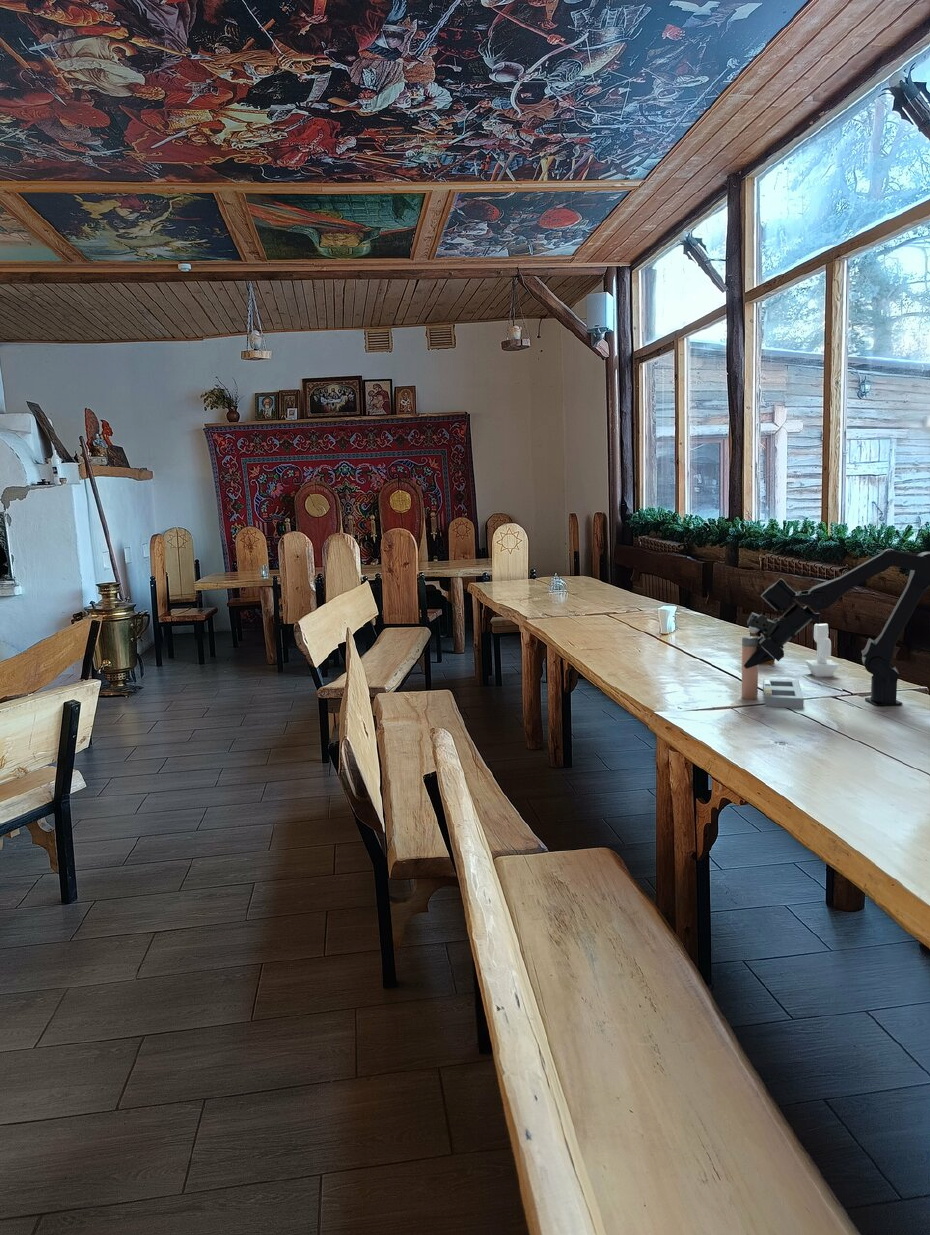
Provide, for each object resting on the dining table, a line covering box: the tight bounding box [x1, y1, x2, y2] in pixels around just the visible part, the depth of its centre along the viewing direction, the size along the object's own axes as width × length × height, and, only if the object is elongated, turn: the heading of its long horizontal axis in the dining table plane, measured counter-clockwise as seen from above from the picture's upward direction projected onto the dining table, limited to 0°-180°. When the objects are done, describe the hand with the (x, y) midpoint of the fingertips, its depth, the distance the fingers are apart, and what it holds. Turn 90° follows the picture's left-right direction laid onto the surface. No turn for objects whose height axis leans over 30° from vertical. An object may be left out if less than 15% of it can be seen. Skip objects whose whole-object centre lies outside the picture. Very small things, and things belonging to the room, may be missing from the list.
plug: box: [741, 635, 759, 700], centre depth 210 cm, size 4×4×16 cm
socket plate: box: [762, 678, 805, 709], centre depth 209 cm, size 20×9×3 cm, turn 161°
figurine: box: [804, 623, 840, 678], centre depth 231 cm, size 7×9×15 cm
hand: (744, 665), depth 210 cm, fingers closed on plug, 4 cm apart
